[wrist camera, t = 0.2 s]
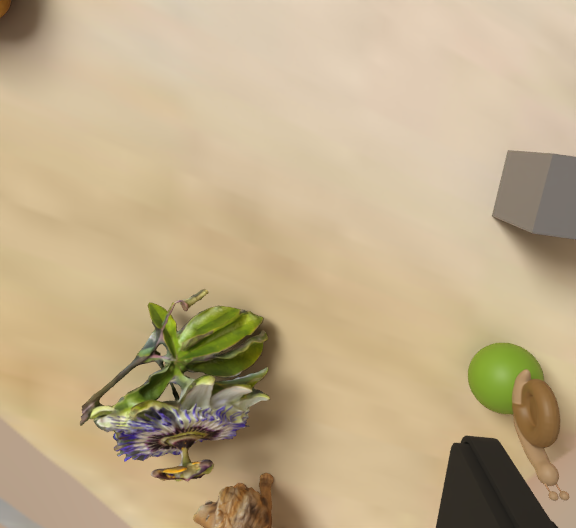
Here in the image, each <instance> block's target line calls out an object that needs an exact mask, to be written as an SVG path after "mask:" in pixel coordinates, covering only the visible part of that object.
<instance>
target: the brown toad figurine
mask: <svg viewBox="0 0 576 528" xmlns="http://www.w3.org/2000/svg"><path fill="white" fill-rule="evenodd" d="M10 4H11V0H0V18H1V17H2V16H3V15H4V14H5V13H6V12H7V11H8V9H9V7H10Z"/></svg>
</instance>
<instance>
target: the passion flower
mask: <svg viewBox="0 0 576 528" xmlns="http://www.w3.org/2000/svg"><path fill="white" fill-rule="evenodd" d="M206 294H208V291H207V290H205V289H203V290H201V291H200V292H198V293H197V294H195V295H193V296H191V297H190V298H188V299H185V300H178V301H175V302H173V303H172V305H171V307H170V309H169V310H168V312H167V311H166V310H165V309H164V308H163V307H161V306H159V305H157V304H154V303H149V304H148V308H149V312H150V316H151V319H152V323H153V325H154V327H155V330H154V332H153V333H152V334H151V336H150V337H149V339H148V341H147V342H146V344H145V345H144V347H143V348H142V349H141V350H140V352H139V353H138V354H137V356H136V358H135V359H134V360H133V362H132V363H131V364H130V365H128V366H127V367H126V368H125V369H124V370H123V371H121V372H120V373H119V374H118V375H117V376H116V377H115V378H114V379H113V380H112V381H111V382H110V383H108V384H107V385H106V386H105V387H104V388H103V389H101V390H100V391H99V392H97V393H96V394H94V395H93V396H92V397H91V398H90V399H89V400H88V401H87V402H86V403H85V404H84V405H83V406H82V408H83V409H82V413H83V415H82V416H81V418H82V420H81V421H80V425H83V424H84V423H85V422H86V421H87V420H88V419H89V418H90V419H94V422H95V424H96V425H97V427H98V428H100V429H101V430H104V431H106V432H109V431H114V432H115V434H114V436H113V438H114V439H115V440H116V441H117V446H115V447H114V450H115V451H119V450H120V453H118V454H117V456H121V455H122V454H126V457H125V459H124V462H125V461H127V460H128V459H130V458H131V457H132V459H134V460H136V459H137V460H142V461H144V460H145V459H147V458H148V457H149V456H150V457H151V456H152V457H154V456H156V457H159V456H163V455H165V454H168V453H171V454H174V455H179V454H181V456H182V460H181V464H180V465H179V466H177V467H173V468H167V469H157V470H154V471H152V473H151V475H152V476H153V477H155V478H159V479H161V480H163V481H165V480H174V479H175V480H176V481H181V480H185V481H189V480H190V479H197V478H201V477H202V476H203V475H204V474H209V473H210V472H211V471H212V469H213V466H214V464H213V462H212V461H211V460H202V461H197V462H191V461H190V459H189V455H188V449H189V448H190V447H191V446H192V445H193V444H194V443H196V441H200V442H202V441H203V440H221V439H233V437H234V436H236V431H237V430H239V429H241V428H245V427H247V426H246V425H245V424H246V423H247V422H246V421H247V420H246V419H248V418H249V416H248V415H247V413H248V412H250V411H249V407H250V406H253V405H254V404H256V403H258V402H260V401H267V400H270V397H269V396H268V395H267V394H265V393H263V392H262V391H260V390H256V389H254V385H255V384H256V383H257V382H259V381H260V380H262V379H263V378H264V376H265V375H266V374H267V372H268V367H266V368H265V369H263V370H261V371H259V372H257V373H253V374H248V375H247V376H244V377H237V378H235V379H233V380H227V381H219V382H214V381H215V378H214V377H212V376H216V377H222V378H227V377H235V376H238V375H240V374H241V372H242V371H244V370H246V369H247V368H249V367H251V366H252V365H253V364H254V363H255V361H256V360H257V359H258V357H259V356H261V353H262V350H263V342H264V341H266V340H267V339H268V337H267V334H266V333H265V331H261V332H260V334H259V335H256V336H254V337H250V338H248V339H247V340H246V341H245V342H244V343H243V344H241V345H239V346H237V347H236V348H234V349H233V350H231V351H229V352H227V353H224V354H220V355H217V354H219V353H220V352H223V351H226V350H227V349H229V348H231V347H233V346H234V345H235V344H237V343H238V342H239V341H241V340H242V339H243V338H244V337H245V336H247V335H252V334H253V333H254V332H255V330H256V329H257V328H258V327H259V326H260V324H261V323H262V322H263V320H264V318H263V317H261V316H258V315H255V314H253V313H252V312H250V311H245V310H241V309H236V308H232V307H225V306H215V307H212V308H208V309H206V310H204V311H201V312H199V313H198V314H197V315H196V316H194V317H193V318H192V319H191V320H190V321H189V322H188V323H187V324H186V325H185V326H184V327H183V328H182V329H181V330H180V331H177V324H176V322H175V321H174V319H173V317H172V315H171V312H172V310H173V308H174V306H175V304H176V303H178V302H181V305H182V308H183V309H184V311H187V310H188V308H189V307H190V306H191V305H193V304H194V303H195V302H197V301H199V300H201V299H202V298H203V297H204V296H205V295H206ZM160 344H163V345H164V346H165V347H166V349H167V354H166V355H165V356H160V353H159V352H157V351H156V349H157V347H158V346H159V345H160ZM163 361H164V362H165V364H166V365H165V366H164V365H163ZM149 362H156V363H157V364H158V365H159V366H160V368H161V370H159V371H157V372H155V373H153V374H152V375H150V376H149V378H148V380H147V381H146V382H145V383H144V384H143V385H142V386H140V387H138V388H136V389H134V390H132V391H130V392H128V393H127V394H126V395H125V396H124V397H121V398H120V400H119V401H118V403H117V404H115V405H113V406H104V405H102V404H100V403H99V400H100V398H101V397H102V396H103V395H104V394H105V393H106V392H107V391H108V390H109V389H110V388H112V387H113V386H114V385H115V384H116V383H117V382H118V381H120V380H121V379H122V378H123V377H124V376H125V375H126V374H128V373H129V372H130V371H131V370H132V369H133V368H135V367H136V366H138V365H141V364H145V363H149ZM185 371H189V372H203V373H205V374H208V375H205V376H202V377H200V378H198V379H193V378H189V377H187V376H185V375H184V372H185ZM210 375H212V376H210ZM169 383H170V385H171V386H172V390H173V395H174V397H175V401H164V402H160V401H156V400H157V399H158V398H159V397H160V395H161V394H162V393H163V392H164V390H165V388H166V387H167V385H168V384H169ZM173 383H175V384H178V385H179V386H180V387H181V390H182V391H181V396H180V398H179V395H178V393H177V391H176V388H175V387H174V385H173ZM248 427H249V426H248Z"/></svg>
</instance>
